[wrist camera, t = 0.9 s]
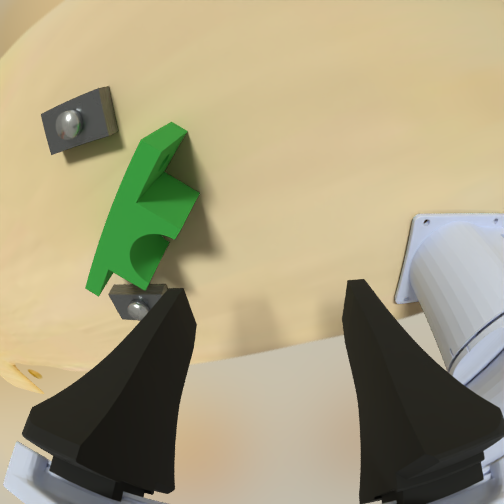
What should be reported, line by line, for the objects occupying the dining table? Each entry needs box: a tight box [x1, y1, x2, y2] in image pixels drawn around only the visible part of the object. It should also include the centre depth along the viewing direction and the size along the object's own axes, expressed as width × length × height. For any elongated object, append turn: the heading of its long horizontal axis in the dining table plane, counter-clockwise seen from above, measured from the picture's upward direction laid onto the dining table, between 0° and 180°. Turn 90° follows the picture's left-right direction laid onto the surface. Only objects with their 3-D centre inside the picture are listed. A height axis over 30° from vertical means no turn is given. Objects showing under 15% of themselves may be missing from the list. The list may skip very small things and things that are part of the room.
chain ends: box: [41, 86, 168, 321], centre depth 18 cm, size 5×18×2 cm, turn 6°
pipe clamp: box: [85, 122, 200, 296], centre depth 16 cm, size 11×4×5 cm, turn 145°
